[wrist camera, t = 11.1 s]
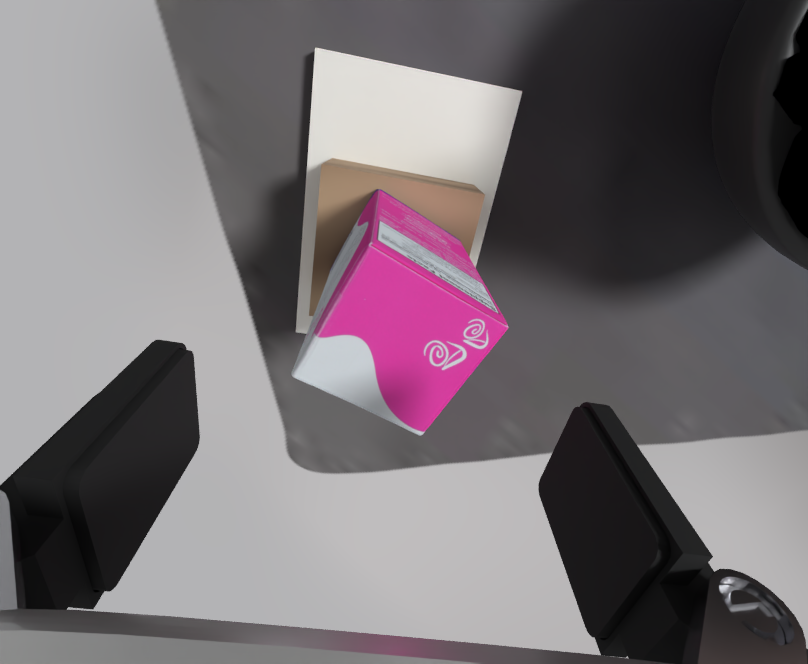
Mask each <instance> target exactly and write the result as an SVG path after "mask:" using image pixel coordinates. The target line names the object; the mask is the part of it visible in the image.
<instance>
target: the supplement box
mask: <svg viewBox="0 0 808 664" xmlns="http://www.w3.org/2000/svg"><path fill="white" fill-rule="evenodd" d="M507 329H508V325H507V323H506V321H505V319H504V317H503V315H502V313H501V312H500V310H499V308H498V306H497V305H496V303H495V301H494V300H493V298H492V296H491V294H490V293H489V291H488V289H487V287H486V285H485V284H484V282H483V280H482V279H481V277H480V275H479V274H478V272H477V270H476V268H475V266H474V265H473V263H472V261H471V259H470V257H469V256H468V254H467V252H466V250H465V249H464V247H463V245H462V243H461V241H460V240H459V239H457V238H456V237H454V236H453V235H451V234H450V233H448V232H447V231H445V230H444V229H442V228H440V227H439V226H437V225H436V224H434V223H433V222H431V221H430V220H428V219H427V218H425V217H424V216H422V215H420V214H419V213H417V212H416V211H414V210H413V209H411V208H410V207H408V206H407V205H405V204H403V203H402V202H400V201H399V200H397V199H396V198H394V197H392V196H391V195H389V194H388V193H386V192H384V191H383V190H381V189H377V190H376V191H375V192H374V193H373V195H372V196H371V198H370V200H369V201H368V203H367V205H366V206H365V208H364V210H363V211H362V213H361V215H360V216H359V218H358V220H357V222H356V223H355V225H354V227H353V229H352V231H351V232H350V234H349V236H348V238H347V239H346V241H345V243H344V245H343V247H342V249H341V250H340V252H339V254H338V256H337V258H336V260H335V262H334V264H333V266H332V267H331V269H330V273H329V276H328V279H327V282H326V284H325V287H324V290H323V293H322V295H321V298H320V300H319V303H318V306H317V308H316V311H315V313H314V316H313V318H312V321H311V324H310V326H309V329H308V332H307V334H306V337H305V339H304V342H303V345H302V347H301V350H300V352H299V355H298V358H297V360H296V363H295V366H294V368H293V370H292V373H291V374H292V376H293V377H294V378H296V379H298V380H301V381H303V382H305V383H307V384H310V385H312V386H314V387H317V388H319V389H321V390H323V391H326V392H328V393H330V394H332V395H335V396H337V397H339V398H341V399H344V400H346V401H348V402H350V403H352V404H354V405H357V406H359V407H361V408H363V409H365V410H367V411H369V412H371V413H373V414H375V415H378V416H380V417H382V418H384V419H386V420H388V421H390V422H392V423H394V424H396V425H399V426H401V427H403V428H405V429H407V430H409V431H411V432H413V433H415V434H417V435H422V434H423V433H424V432H425V431H426V429H427V428H428V427H429V426H430V425H431V423H432V422H433V421H434V420H435V418H436V417H437V416H438V415H439V413H440V412H441V411H442V410H443V408H444V407H445V406H446V405H447V403H448V402H449V401H450V400H451V399H452V397H453V396H454V395H455V394H456V392H457V391H458V390H459V389H460V387H461V386H462V385H463V384H464V382H465V381H466V380H467V378H468V377H469V376H470V375H471V374H472V372H473V371H474V370H475V369H476V368H477V366H478V365H479V364H480V362H481V361H482V360H483V359H484V358H485V356H486V355H487V354H488V353H489V351H490V350H491V349H492V348H493V346H494V345H495V344H496V343H497V341H498V340H499V339H500V338H501V337H502V335H503V334H504V333H505V332H506V330H507Z"/></svg>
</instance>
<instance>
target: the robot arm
mask: <svg viewBox="0 0 808 664" xmlns="http://www.w3.org/2000/svg"><path fill="white" fill-rule="evenodd" d="M199 438H200V435H199V422H198V408H197V395H196V383H195V368H194V356H193V353H192V351H188V350H186V347H185V345H184V344H183V343H177V342H170V341H163V340H155V341H154V342H152V343H151V344H150V345H149V346H148V347H147V348H146V349H145V350H144V351H143V352H142V353H141V354H140V355H139V356H138V357H137V358H136V359H134V361H132V362H131V363H130V364H129V365H128V366H127V367H126V368H125V369H124V370H123V371H122V372H121V373H120V374H119V375H118V376H117V377H116V378H115V379H114V380H113V381H112V382H110V383H109V384H108V385H107V386H106V387H105V388H104V389H103V390H102V391H101V392H100V393H98V394H97V395H95V396H94V397H93V398H92V399H91V400H90V401H89V402H88V403H87V404H86V405H85V406H84V407H82V408H81V409H80V411H78V412H77V413H76V414H75V415H74V416H73V417H72V418H71V419H70V420H69V421H68V422H67V423H66V424H64V425H63V426H62V427H61V428H60V429H59V430H58V431H57V432H56V433H55V434H54V435H53V436H52V437H51V438H50V439H49V440H48V441H47V442H46V443H44V444H43V445H42V446H41V447H40V448H39V449H38V450H37V451H36V452H35V453H34V454H33V455H32V456H31V457H30V458H29V459H28V460H27V461H26V462H24V463H23V465H21V466H20V467H19V468H18V469H17V470H16V471H15V472H14V473H13V474H12V475H11V476H10V477H9V478H8V479H7V480H6V481H4V482H3V483H2V485H0V664H808V649H806V641H805V637H804V634H803V630H802V628H801V626H800V625H799V622H798V621H797V619H796V617H795V616H794V614H793V613H792V612H791V611H790V610H789V608H788V607H787V606H786V605H785V604H784V602H783V601H782V600H780V599H779V598H778V597H777V596H776V595H775V594H774V593H773V592H772V591H771V590H769V589H768V588H767V587H765V586H764V585H762V584H761V583H759V582H758V581H757V580H755V579H753V578H751V577H749V576H747V575H745V574H743V573H741V572H738V571H734V570H731V569H719V570H717V571H715V572H714V571H713V569H712V568H711V566H710V565H709V564H708V561H710V559H711V558H712V557H713V556H712V555H711V553H710V552H709V550H708V549H707V548H706V546H705V544H704V543H703V542H702V540H701V539H700V537H699V536H698V534H697V533H696V531H695V530H694V528H693V527H692V525H691V524H690V522H689V521H688V520H687V518H686V517H685V515H684V514H683V512H682V511H681V509H680V508H679V506H678V505H677V504H676V502H675V501H674V499H673V498H672V496H671V495H670V493H669V492H668V490H667V489H666V487H665V486H664V485H663V483H662V482H661V480H660V479H659V477H658V476H657V474H656V473H655V471H654V470H653V468H652V467H651V466H650V464H649V462H648V461H647V460H646V458H645V457H644V455H643V454H642V453H641V451H640V449H639V448H638V446H637V445H636V443H635V442H634V441H633V439H632V438H631V436H630V435H629V433H628V432H627V430H626V429H625V427H624V426H623V424H622V423H621V422H620V420H619V419H618V417H617V416H616V414H615V413H614V411H613V410H612V409H611V408H610V406H607V405H602V404H595V403H589V402H585V403H583V404H581V405H580V407H575V408H574V409H573V411H572V413H571V415H570V417H569V419H568V422H567V424H566V426H565V428H564V430H563V432H562V434H561V436H560V438H559V441H558V443H557V445H556V447H555V449H554V451H553V453H552V455H551V458H550V460H549V462H548V464H547V466H546V468H545V470H544V472H543V474H542V476H541V479H540V482H539V495H540V498H541V501H542V504H543V507H544V510H545V512H546V515H547V518H548V521H549V524H550V527H551V529H552V532H553V535H554V538H555V541H556V544H557V547H558V549H559V552H560V555H561V558H562V561H563V564H564V567H565V570H566V573H567V575H568V578H569V581H570V584H571V587H572V590H573V592H574V595H575V598H576V601H577V604H578V607H579V610H580V612H581V616H582V618H583V621H584V624H585V627H586V629H587V631H588V633H589V634H590V635H591V636H592V637H595V639H596V642H597V645H598V648H599V651H600V653H601V655H603V656H601V655H591V654H581V653H570V652H560V651H549V650H539V649H529V648H518V647H507V646H498V645H488V644H477V643H466V642H455V641H444V640H434V639H423V638H412V637H400V636H390V635H377V634H368V633H356V632H345V631H334V630H323V629H312V628H300V627H288V626H276V625H264V624H253V623H241V622H230V621H217V620H206V619H194V618H183V617H171V616H156V615H140V614H126V613H110V612H96V611H81V610H67V608H68V607H73V608H84V609H94V607H95V606H96V604H97V602H98V601H99V599H100V597H101V595H102V594H103V593H104V591H111V590H112V589H114V587H116V585H117V584H118V582H119V581H120V579H121V577H122V576H123V574H124V572H125V570H126V569H127V567H128V565H129V564H130V562H131V560H132V558H133V557H134V555H135V554H136V552H137V550H138V548H139V547H140V545H141V543H142V542H143V540H144V538H145V537H146V535H147V533H148V532H149V530H150V528H151V527H152V525H153V523H154V522H155V520H156V518H157V517H158V515H159V513H160V511H161V510H162V508H163V506H164V505H165V503H166V501H167V500H168V498H169V496H170V495H171V493H172V491H173V489H174V488H175V486H176V484H177V483H178V481H179V479H180V478H181V476H182V474H183V473H184V471H185V469H186V468H187V466H188V464H189V463H190V461H191V459H192V458H193V456H194V454H195V452H196V450H197V448H198V444H199ZM627 655H628V658H629V659H627V658H626V657H627ZM610 656H614V657H610ZM619 657H625V658H619Z"/></svg>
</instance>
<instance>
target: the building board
mask: <svg viewBox="0 0 808 664" xmlns="http://www.w3.org/2000/svg"><path fill="white" fill-rule="evenodd" d="M521 95H522V91H519V90H514V89H509V88H505V87H500V86H495V85H491V84H486V83H481V82H476V81H472V80H467V79H462V78H457V77H453V76H448V75H443V74H438V73H434V72H429V71H424V70H419V69H415V68H410V67H405V66H400V65H396V64H391V63H386V62H382V61H377V60H372V59H367V58H363V57H358V56H353V55H348V54H344V53H339V52H334V51H329V50H325V49H320V48H315V57H314V72H313V86H312V101H311V116H310V130H309V145H308V160H307V174H306V189H305V203H304V218H303V233H302V247H301V262H300V277H299V291H298V306H297V321H296V332H298V333H305V334H307V332H308V329H309V326H310V324H311V321H312V318H313V316H309V308H310V296H311V284H312V272H313V260H314V248H315V235H316V223H317V211H318V199H319V187H320V175H321V164H322V163H324V162H326V161H328V160H330V159H331V158H335V159H341V160H346V161H351V162H357V163H362V164H367V165H372V166H378V167H383V168H388V169H394V170H399V171H404V172H409V173H415V174H420V175H425V176H431V177H436V178H441V179H446V180H452V181H457V182H462V183H468V184H473V185H475V186H476V187H477V188H478V189H479V190H480V191H482V192H483V193H484V194H485V197H484V201H483V205H482V209H481V213H480V217H479V221H478V225H477V229H476V233H475V237H474V240H473V244H472V248H471V252H470V256H469V257H470V259H471V261H472V263H473V265H474V266H475V268H476V264H477V261H478V257H479V253H480V249H481V246H482V242H483V238H484V234H485V231H486V227H487V223H488V219H489V216H490V212H491V208H492V204H493V201H494V197H495V193H496V189H497V185H498V182H499V178H500V174H501V170H502V167H503V163H504V159H505V155H506V152H507V148H508V144H509V140H510V137H511V133H512V129H513V125H514V121H515V118H516V114H517V110H518V106H519V103H520V99H521Z"/></svg>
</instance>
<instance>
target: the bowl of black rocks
mask: <svg viewBox="0 0 808 664" xmlns="http://www.w3.org/2000/svg"><path fill="white" fill-rule="evenodd" d="M711 132H712V143H713V150H714V155H715V160H716V165H717V168H718V171H719V174H720V178H721V180H722V182H723V185H724V187H725V189H726V191H727V193H728V195H729V197H730V199H731V201H732V203H733V204H734V206H735V207H736V209H737V210H738V212H739V213H740V214H741V216H742V217H743V218H744V219H745V221H746V222H747V223H748V224H749V225H750V226H751V227H752V229H753V230H754V231H755V232H756V233H757V234H758V235H759V236H760V237H761V238H763V239H764V240H765V241H766V242H767V243H768V244H770V245H771V246H772V247H773V248H774V249H775V250H777V251H778V252H779V253H781V254H782V255H784V256H785V257H787V258H789V259H790V260H792V261H793V262H795V263H796V264H798V265H800V266H801V267H803V268H805V269H807V270H808V0H746V1H745V3H744V5H743V7H742V9H741V11H740V13H739V15H738V17H737V19H736V22H735V24H734V26H733V29H732V31H731V33H730V35H729V38H728V41H727V44H726V47H725V49H724V52H723V55H722V58H721V62H720V66H719V69H718V73H717V77H716V82H715V87H714V93H713V101H712V111H711Z"/></svg>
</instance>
